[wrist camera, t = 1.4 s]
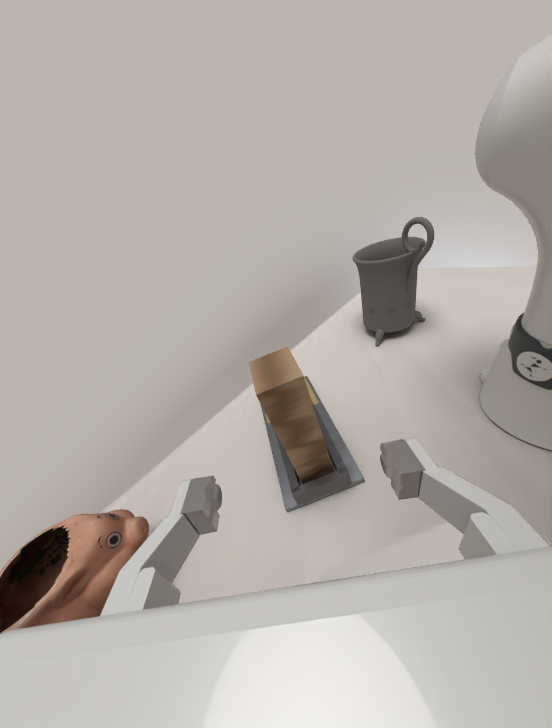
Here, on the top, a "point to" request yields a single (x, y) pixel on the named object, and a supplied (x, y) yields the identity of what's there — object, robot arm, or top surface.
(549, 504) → the top surface
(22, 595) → the decorative planter
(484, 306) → the top surface
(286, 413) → the walnut block
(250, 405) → the top surface
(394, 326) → the footed curly-handled cup
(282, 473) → the steel chute
